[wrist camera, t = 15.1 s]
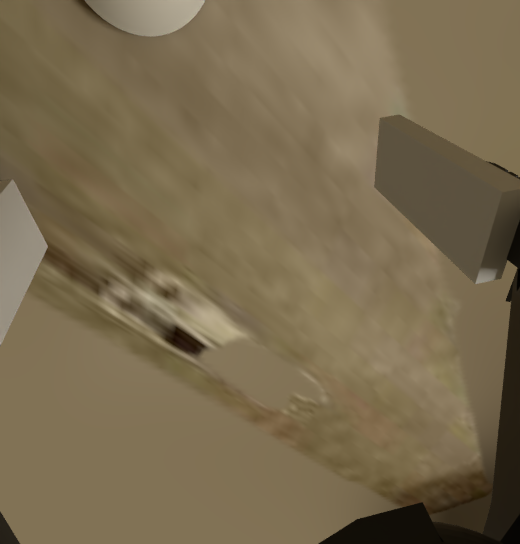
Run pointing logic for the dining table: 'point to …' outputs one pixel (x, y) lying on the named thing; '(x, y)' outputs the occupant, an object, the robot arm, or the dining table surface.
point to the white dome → (147, 14)
